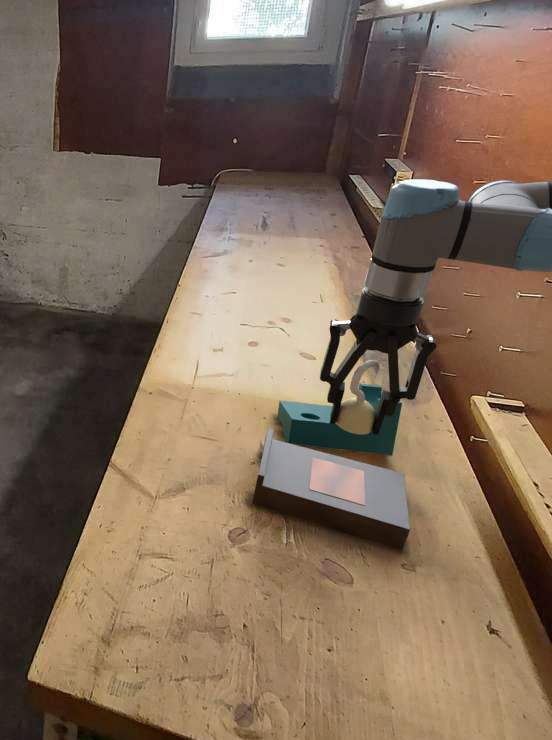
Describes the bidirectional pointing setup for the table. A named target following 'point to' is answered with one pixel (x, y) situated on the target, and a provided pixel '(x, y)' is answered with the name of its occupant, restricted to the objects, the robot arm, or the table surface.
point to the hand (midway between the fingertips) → (353, 424)
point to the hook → (358, 405)
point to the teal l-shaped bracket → (315, 428)
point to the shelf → (333, 492)
